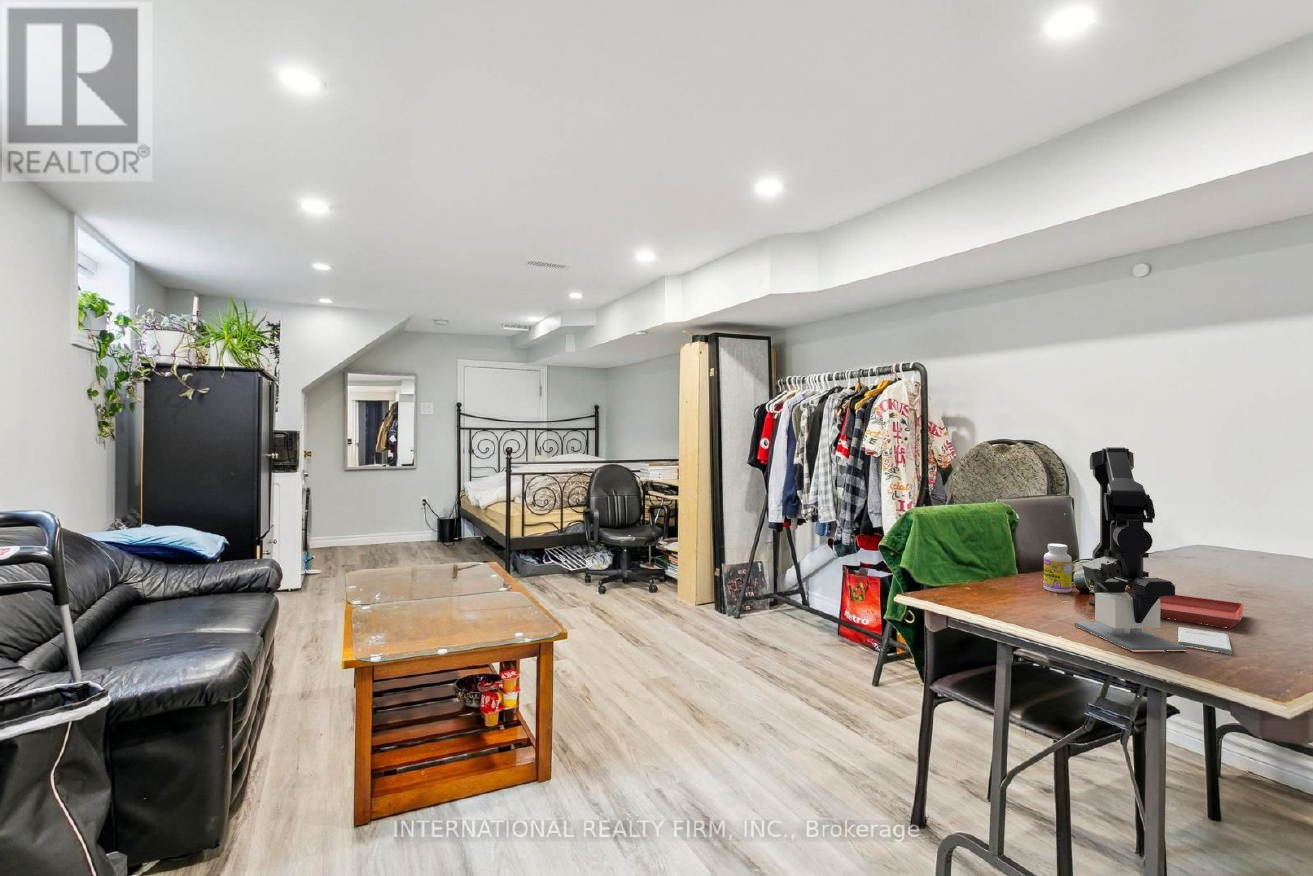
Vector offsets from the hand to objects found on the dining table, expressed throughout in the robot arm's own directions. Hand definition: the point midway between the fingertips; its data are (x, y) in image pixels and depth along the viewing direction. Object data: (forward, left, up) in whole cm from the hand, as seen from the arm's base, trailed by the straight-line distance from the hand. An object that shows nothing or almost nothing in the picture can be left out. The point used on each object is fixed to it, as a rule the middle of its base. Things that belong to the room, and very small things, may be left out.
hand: (1126, 618), depth 133 cm
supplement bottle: (-41, +12, -5) cm, 43 cm away
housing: (0, 0, -1) cm, 1 cm away
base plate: (0, 0, -4) cm, 4 cm away
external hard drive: (+3, +14, -5) cm, 15 cm away
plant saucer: (-16, +28, -5) cm, 32 cm away
